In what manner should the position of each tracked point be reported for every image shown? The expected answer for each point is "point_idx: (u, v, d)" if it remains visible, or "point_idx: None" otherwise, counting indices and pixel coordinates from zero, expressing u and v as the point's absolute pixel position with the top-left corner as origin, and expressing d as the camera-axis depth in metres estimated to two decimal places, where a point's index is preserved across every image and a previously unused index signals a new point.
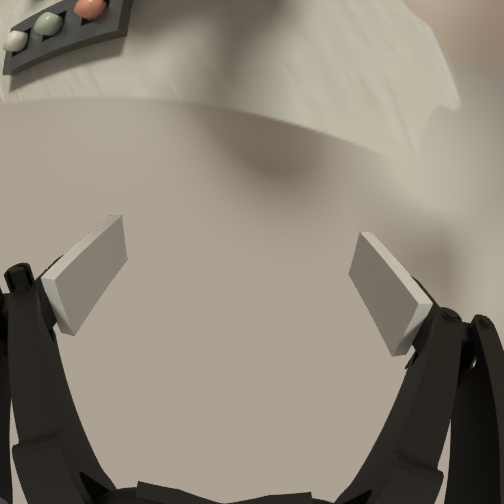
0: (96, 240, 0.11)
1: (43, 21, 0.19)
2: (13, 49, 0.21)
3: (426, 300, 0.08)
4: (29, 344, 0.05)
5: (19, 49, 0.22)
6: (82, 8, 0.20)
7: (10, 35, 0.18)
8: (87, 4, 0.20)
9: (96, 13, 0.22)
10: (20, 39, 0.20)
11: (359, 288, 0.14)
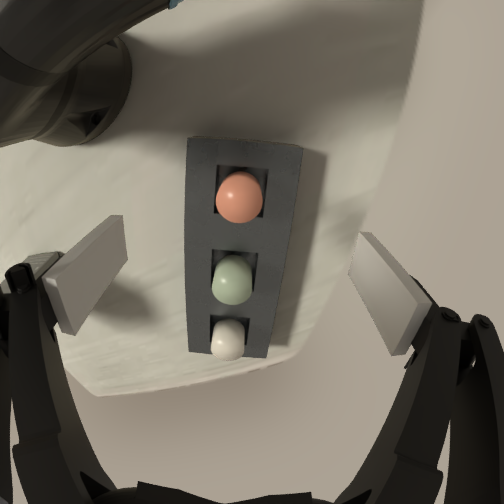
0: (97, 240, 0.11)
1: (231, 286, 0.27)
2: None
3: (425, 300, 0.08)
4: (30, 344, 0.05)
5: (244, 331, 0.34)
6: (247, 205, 0.23)
7: (218, 349, 0.31)
8: (243, 195, 0.23)
9: (257, 183, 0.25)
10: (232, 330, 0.32)
11: (358, 288, 0.14)
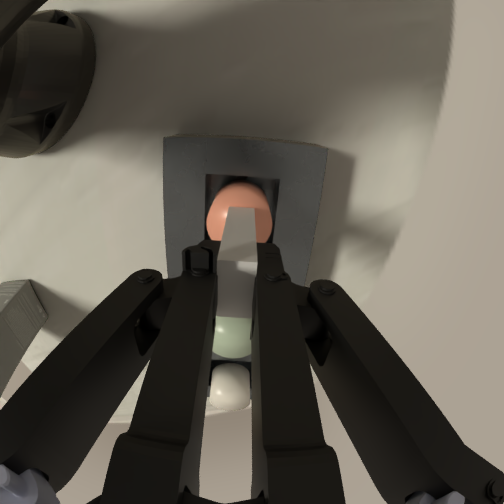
0: None
1: (231, 339, 0.20)
2: (249, 390, 0.25)
3: (251, 259, 0.10)
4: (189, 335, 0.07)
5: (249, 377, 0.26)
6: None
7: (219, 401, 0.24)
8: None
9: (264, 196, 0.18)
10: (235, 379, 0.24)
11: None
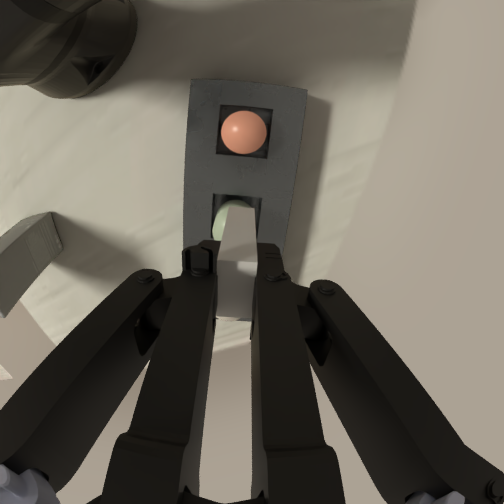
0: None
1: None
2: None
3: (251, 259, 0.10)
4: (189, 335, 0.07)
5: None
6: (252, 135, 0.23)
7: None
8: (247, 126, 0.22)
9: None
10: None
11: None
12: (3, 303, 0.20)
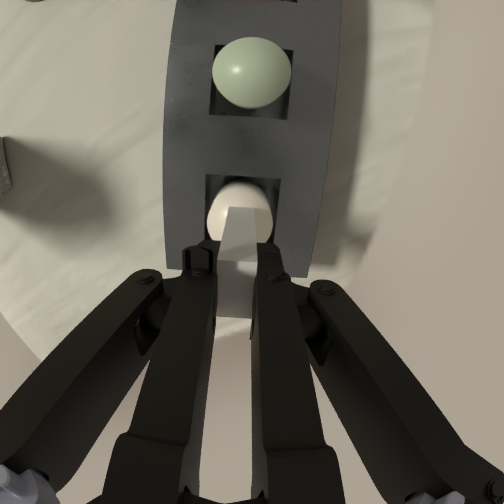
0: None
1: (250, 65, 0.11)
2: None
3: (251, 259, 0.10)
4: (189, 335, 0.07)
5: None
6: None
7: (222, 224, 0.17)
8: None
9: None
10: (249, 187, 0.17)
11: None
12: None
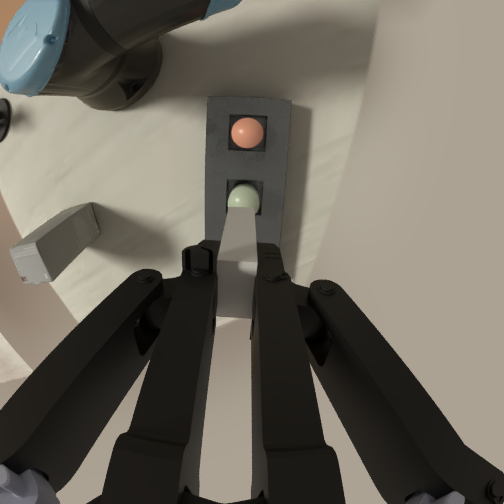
0: None
1: (243, 201, 0.34)
2: None
3: (251, 259, 0.10)
4: (189, 335, 0.07)
5: None
6: (253, 135, 0.32)
7: None
8: (249, 128, 0.32)
9: None
10: None
11: None
12: (52, 269, 0.30)
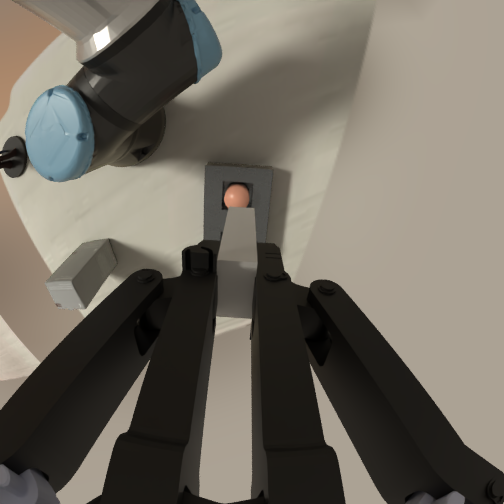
0: None
1: None
2: None
3: (251, 259, 0.10)
4: (189, 335, 0.07)
5: None
6: (241, 201, 0.43)
7: None
8: (238, 196, 0.43)
9: (246, 189, 0.45)
10: None
11: None
12: (85, 300, 0.41)
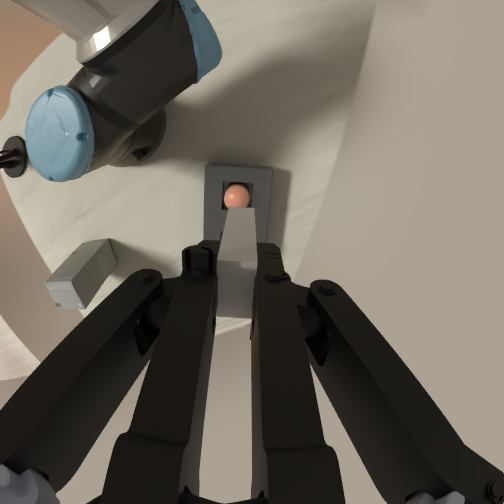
0: None
1: None
2: None
3: (251, 259, 0.10)
4: (189, 335, 0.07)
5: None
6: (241, 201, 0.43)
7: None
8: (238, 196, 0.43)
9: (246, 189, 0.45)
10: None
11: None
12: (84, 300, 0.41)
